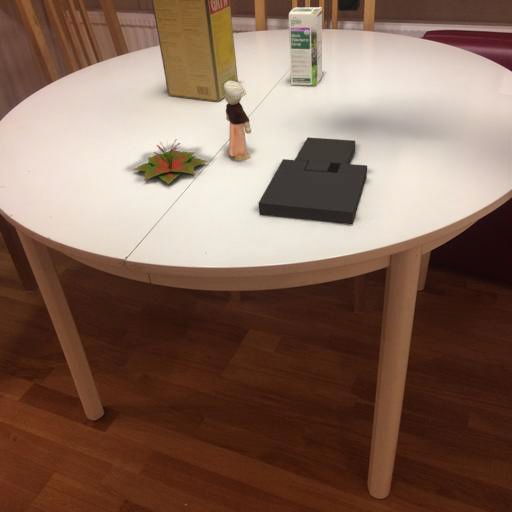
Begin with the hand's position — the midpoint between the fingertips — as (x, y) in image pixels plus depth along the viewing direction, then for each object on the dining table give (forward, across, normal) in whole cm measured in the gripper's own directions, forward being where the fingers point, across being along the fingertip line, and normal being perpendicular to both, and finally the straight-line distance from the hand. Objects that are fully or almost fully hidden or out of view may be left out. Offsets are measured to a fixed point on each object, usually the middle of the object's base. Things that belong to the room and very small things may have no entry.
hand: (348, 9), depth 84 cm
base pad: (+19, -26, 0) cm, 32 cm away
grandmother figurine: (+19, -16, +15) cm, 29 cm away
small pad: (+19, -17, +1) cm, 25 cm away
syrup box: (+19, +20, +12) cm, 30 cm away
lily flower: (+19, -22, +25) cm, 38 cm away
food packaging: (+19, +12, +33) cm, 40 cm away
